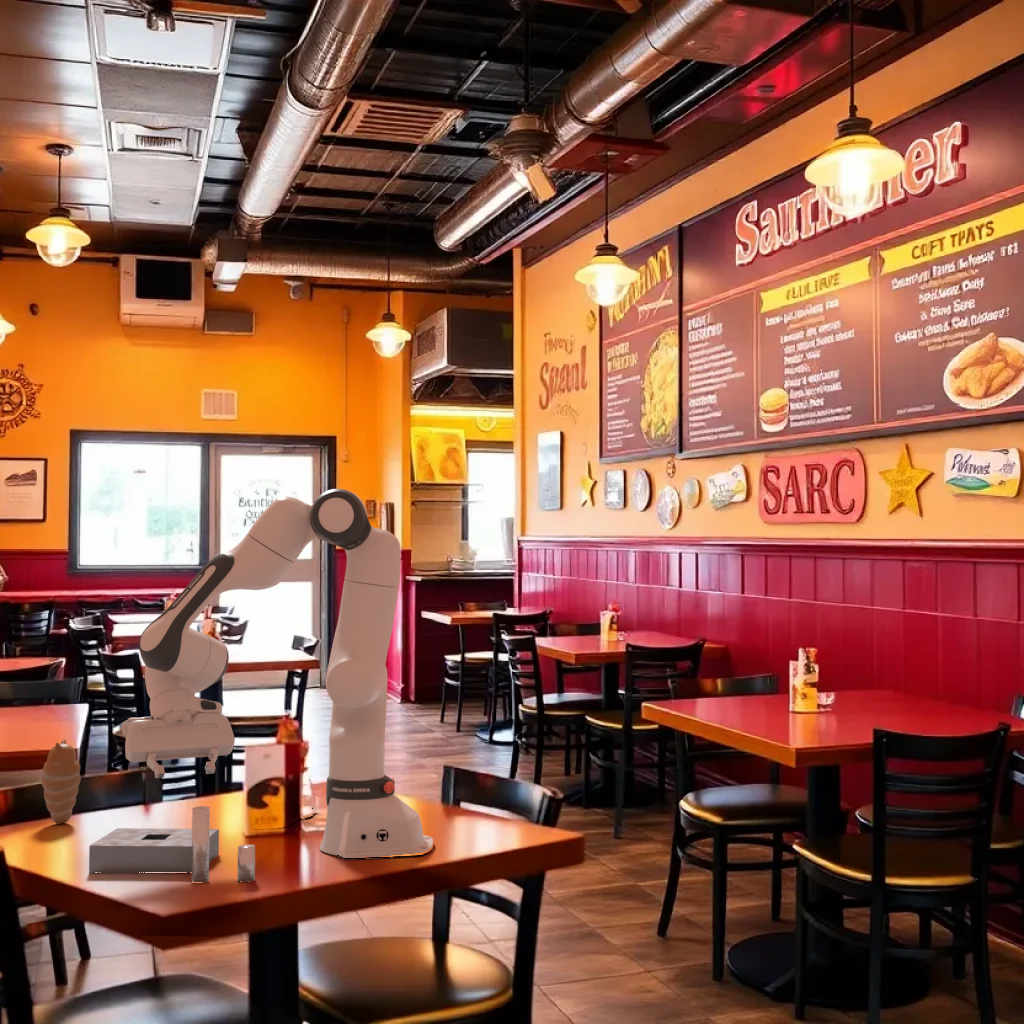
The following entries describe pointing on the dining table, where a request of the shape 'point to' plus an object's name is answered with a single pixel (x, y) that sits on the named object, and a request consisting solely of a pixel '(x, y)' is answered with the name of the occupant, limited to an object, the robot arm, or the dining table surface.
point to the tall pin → (200, 843)
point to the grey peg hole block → (147, 851)
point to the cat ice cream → (61, 781)
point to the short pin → (246, 863)
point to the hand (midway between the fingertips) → (185, 773)
